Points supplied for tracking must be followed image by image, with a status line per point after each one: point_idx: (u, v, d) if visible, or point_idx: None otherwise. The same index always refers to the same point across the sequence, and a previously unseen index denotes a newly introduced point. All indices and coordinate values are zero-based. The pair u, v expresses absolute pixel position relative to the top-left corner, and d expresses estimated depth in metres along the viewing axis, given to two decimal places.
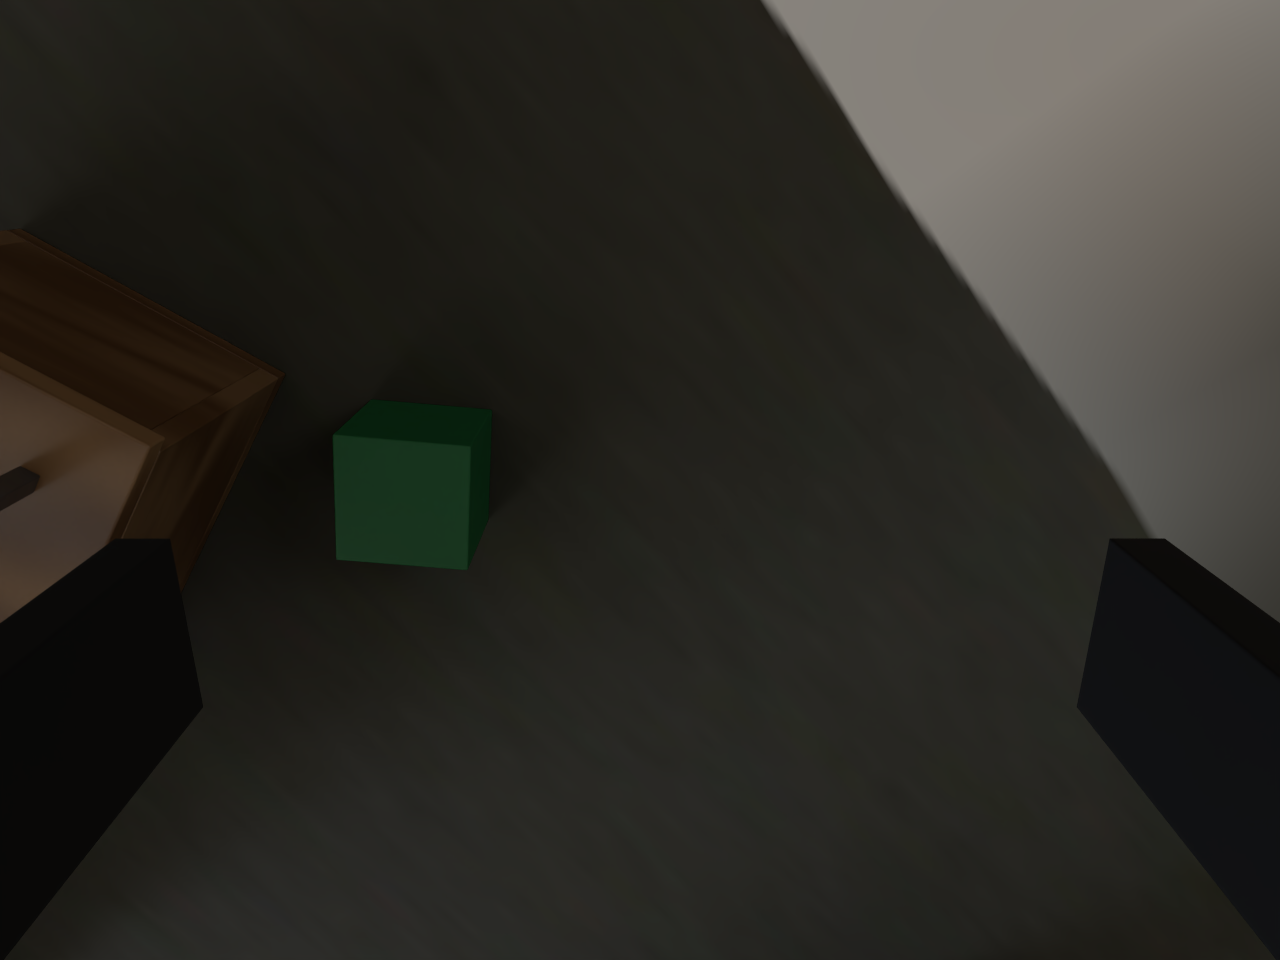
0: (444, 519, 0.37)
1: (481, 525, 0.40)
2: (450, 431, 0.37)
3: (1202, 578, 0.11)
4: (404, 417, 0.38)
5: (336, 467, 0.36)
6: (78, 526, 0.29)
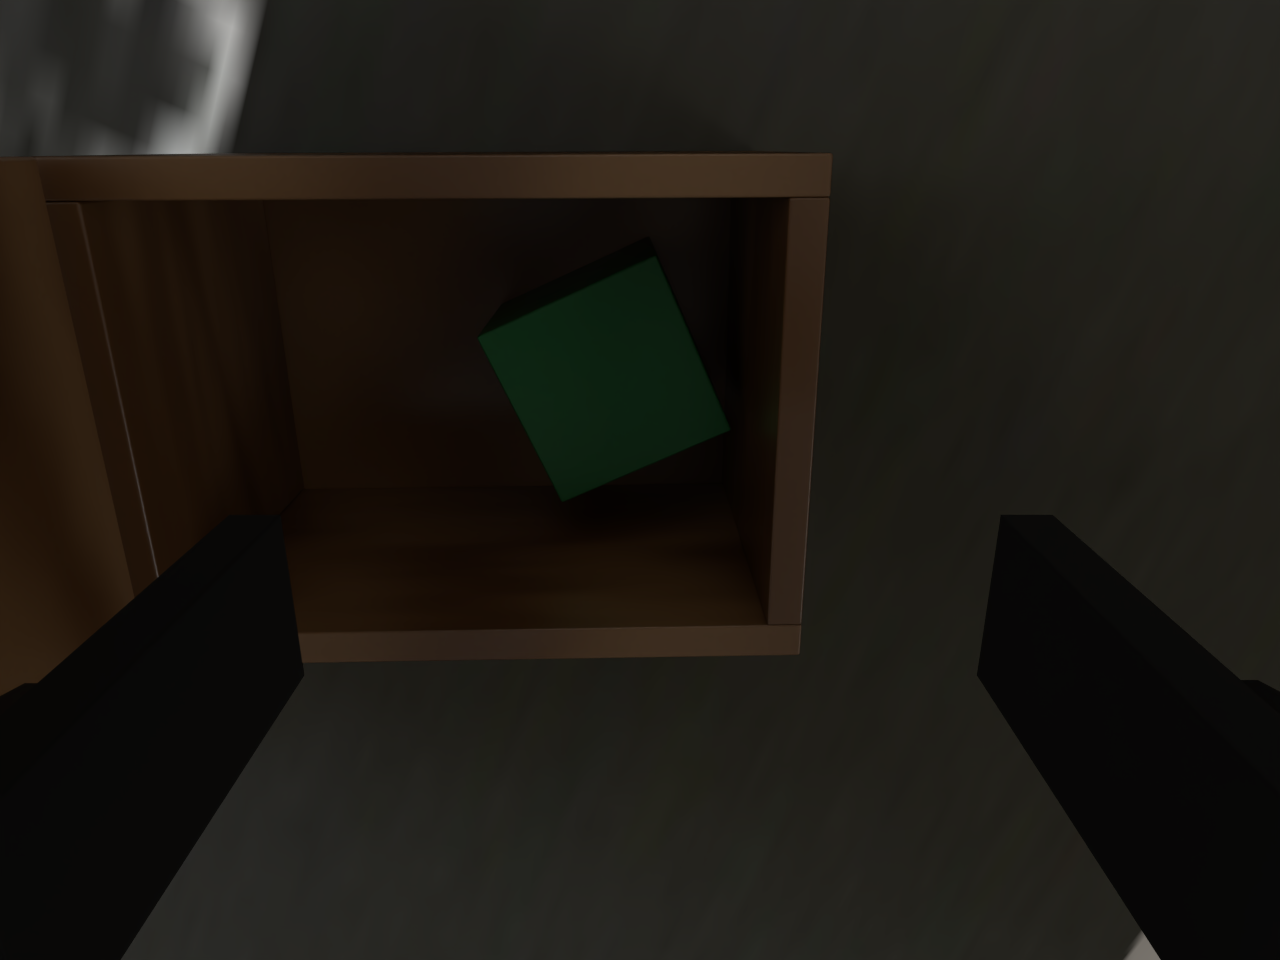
0: (615, 444, 0.26)
1: None
2: None
3: (1076, 549, 0.12)
4: (678, 305, 0.28)
5: (612, 280, 0.24)
6: None
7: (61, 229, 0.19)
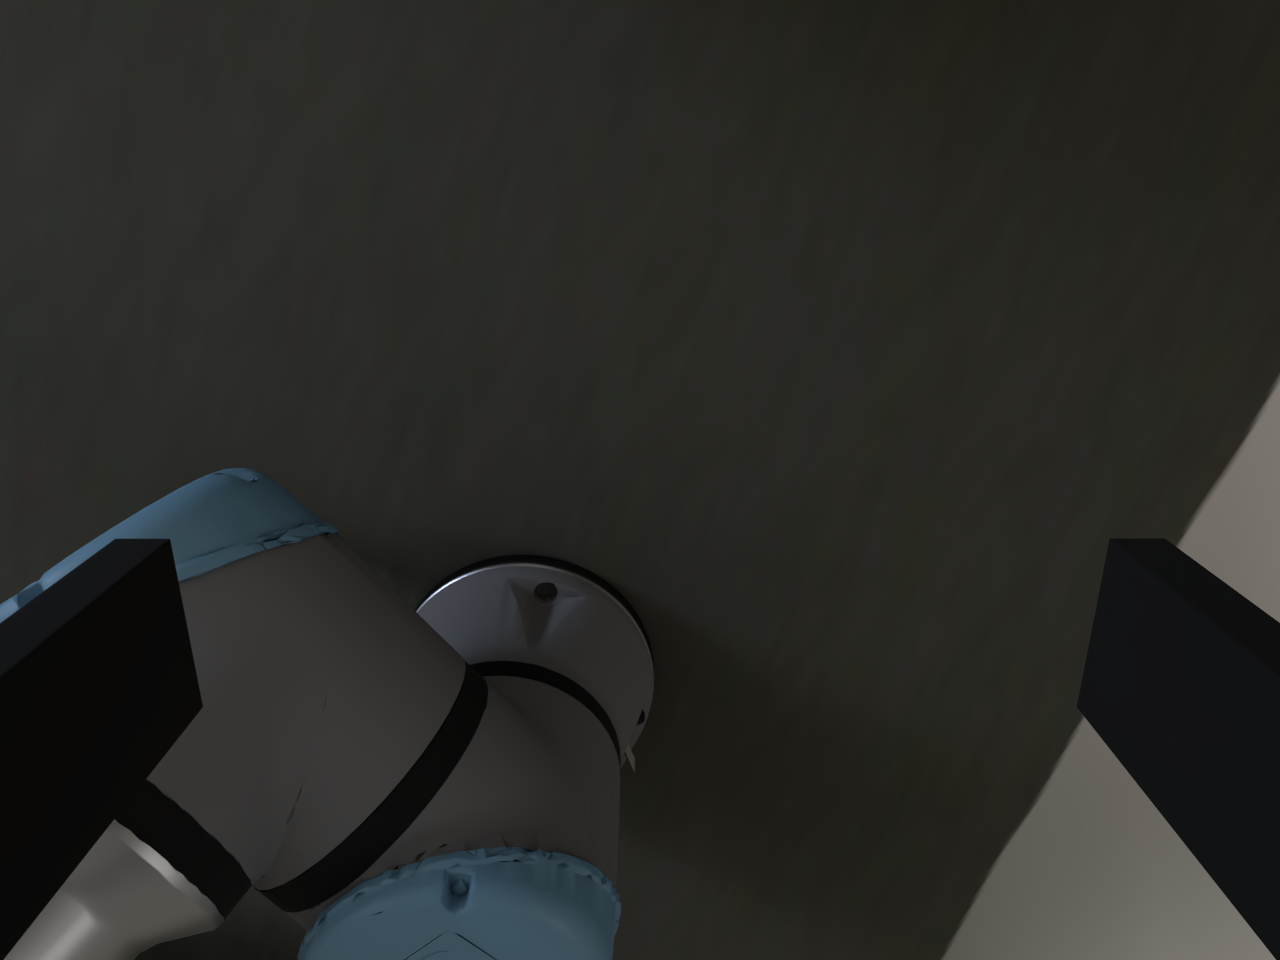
0: None
1: None
2: None
3: (1202, 578, 0.11)
4: None
5: None
6: None
7: None
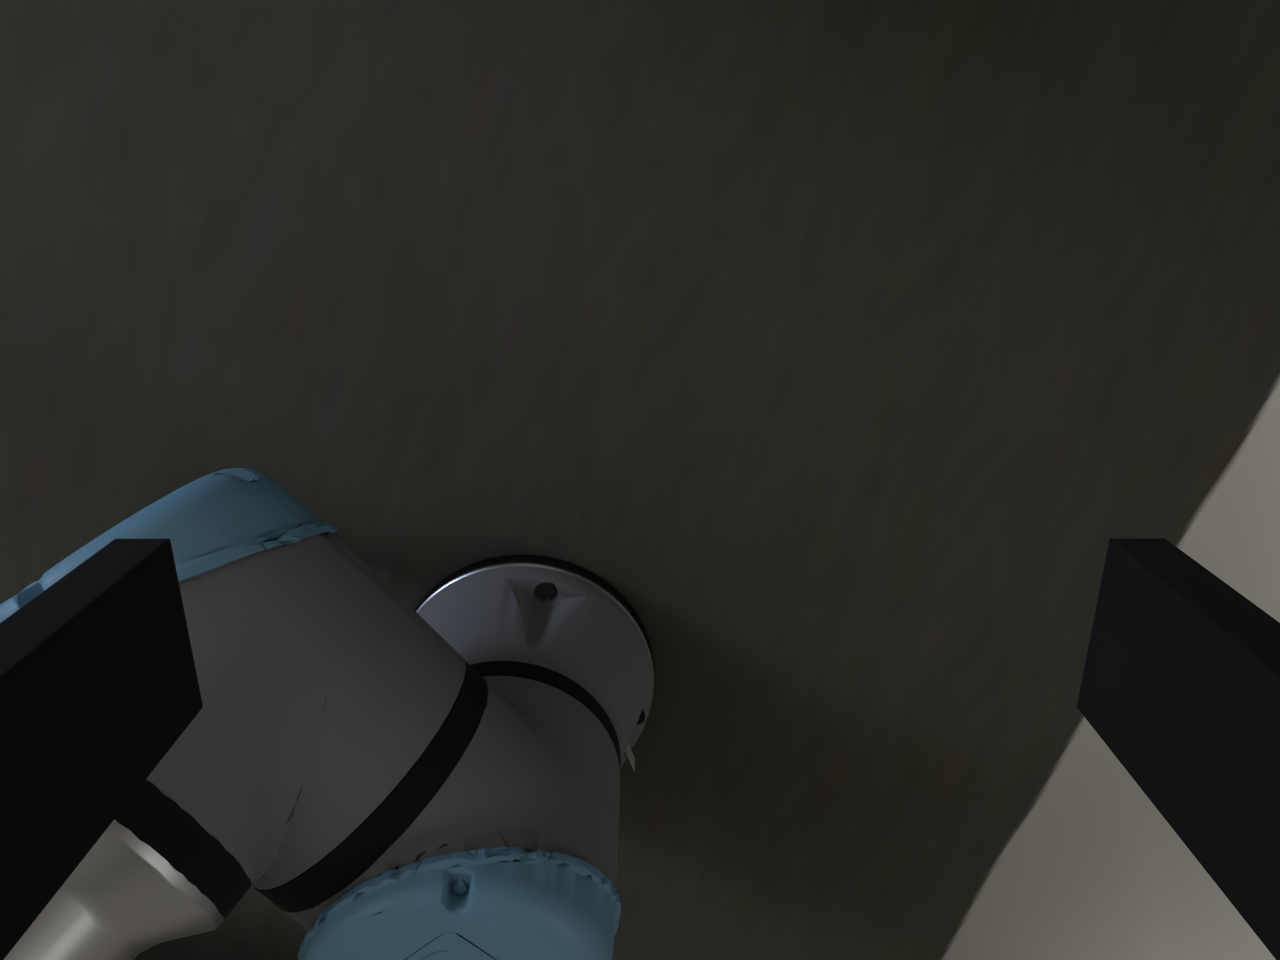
0: None
1: None
2: None
3: (1202, 578, 0.11)
4: None
5: None
6: None
7: None
